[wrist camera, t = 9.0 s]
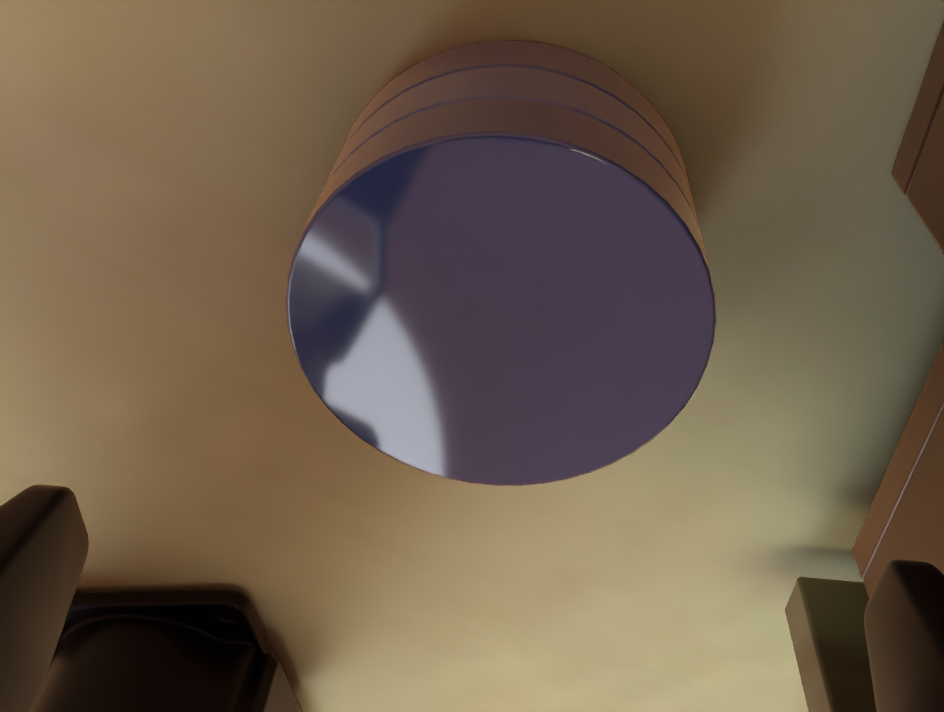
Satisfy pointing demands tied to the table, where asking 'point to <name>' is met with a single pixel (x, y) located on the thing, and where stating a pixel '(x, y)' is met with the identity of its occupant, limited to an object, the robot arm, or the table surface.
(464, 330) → the blue short cylinder
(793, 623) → the drawer
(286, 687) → the robot arm
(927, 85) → the cabinet
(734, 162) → the table surface
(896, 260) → the table surface
